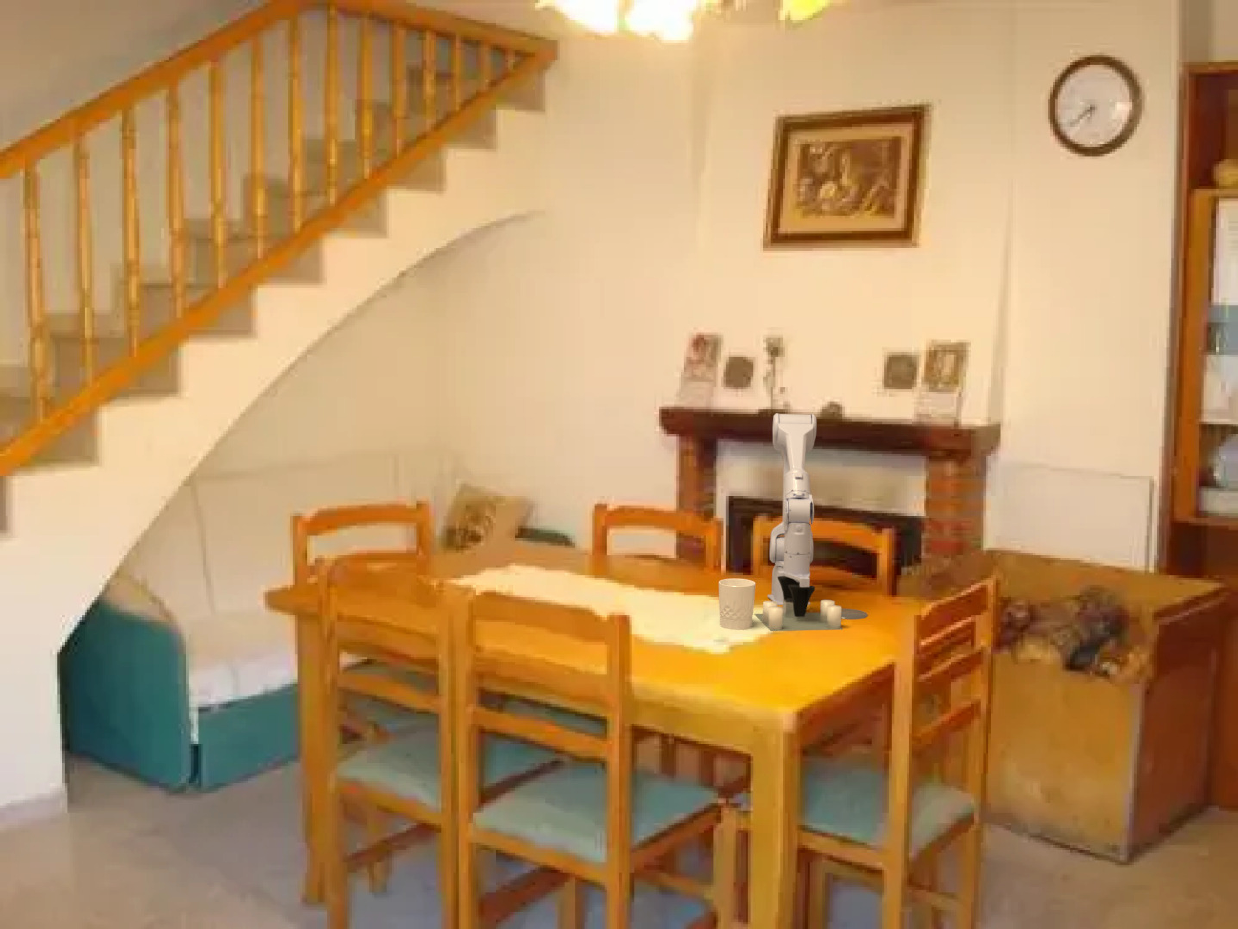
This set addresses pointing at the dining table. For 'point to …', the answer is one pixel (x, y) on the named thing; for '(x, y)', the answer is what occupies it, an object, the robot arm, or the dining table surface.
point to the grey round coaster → (852, 614)
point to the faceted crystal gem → (789, 609)
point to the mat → (801, 623)
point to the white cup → (736, 603)
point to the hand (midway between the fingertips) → (794, 612)
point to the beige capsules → (827, 614)
